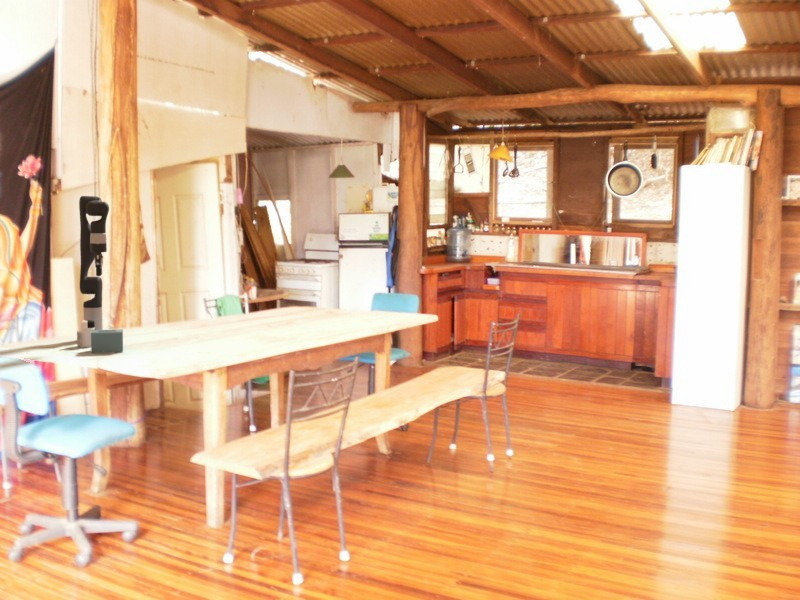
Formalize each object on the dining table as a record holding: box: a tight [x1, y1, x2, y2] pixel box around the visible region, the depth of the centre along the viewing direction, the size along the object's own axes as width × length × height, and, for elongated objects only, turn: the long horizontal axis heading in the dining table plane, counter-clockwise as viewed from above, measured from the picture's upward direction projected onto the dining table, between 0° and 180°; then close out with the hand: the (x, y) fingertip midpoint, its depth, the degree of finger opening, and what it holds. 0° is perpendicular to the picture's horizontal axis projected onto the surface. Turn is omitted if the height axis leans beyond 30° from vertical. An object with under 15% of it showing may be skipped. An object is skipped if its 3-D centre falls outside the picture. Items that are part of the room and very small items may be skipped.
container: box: [76, 319, 95, 348], centre depth 411 cm, size 8×8×13 cm
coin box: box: [90, 329, 124, 354], centre depth 396 cm, size 10×14×10 cm
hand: (99, 275), depth 405 cm, fingers open, 8 cm apart
